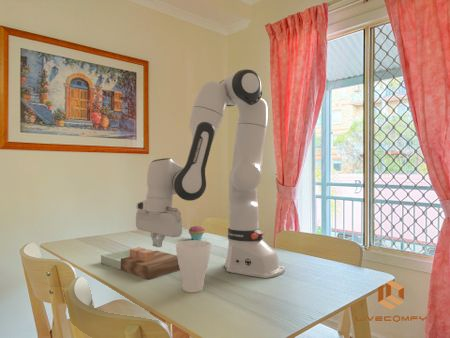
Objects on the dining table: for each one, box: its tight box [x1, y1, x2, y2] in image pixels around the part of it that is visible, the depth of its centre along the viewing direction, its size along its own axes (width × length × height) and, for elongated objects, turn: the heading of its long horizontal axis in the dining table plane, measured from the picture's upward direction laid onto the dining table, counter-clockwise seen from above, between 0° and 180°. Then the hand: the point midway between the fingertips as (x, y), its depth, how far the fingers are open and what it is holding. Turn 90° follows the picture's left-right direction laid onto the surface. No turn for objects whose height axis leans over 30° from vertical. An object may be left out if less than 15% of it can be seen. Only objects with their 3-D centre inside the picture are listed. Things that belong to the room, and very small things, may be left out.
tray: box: [100, 248, 131, 271], centre depth 123 cm, size 13×16×3 cm
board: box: [120, 250, 180, 280], centre depth 114 cm, size 16×16×4 cm
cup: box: [175, 239, 212, 294], centre depth 95 cm, size 10×10×14 cm
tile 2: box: [138, 248, 156, 262], centre depth 112 cm, size 4×4×3 cm
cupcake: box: [188, 217, 206, 241], centre depth 167 cm, size 9×8×12 cm
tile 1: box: [129, 246, 147, 259], centre depth 115 cm, size 4×4×3 cm
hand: (157, 246), depth 107 cm, fingers closed
